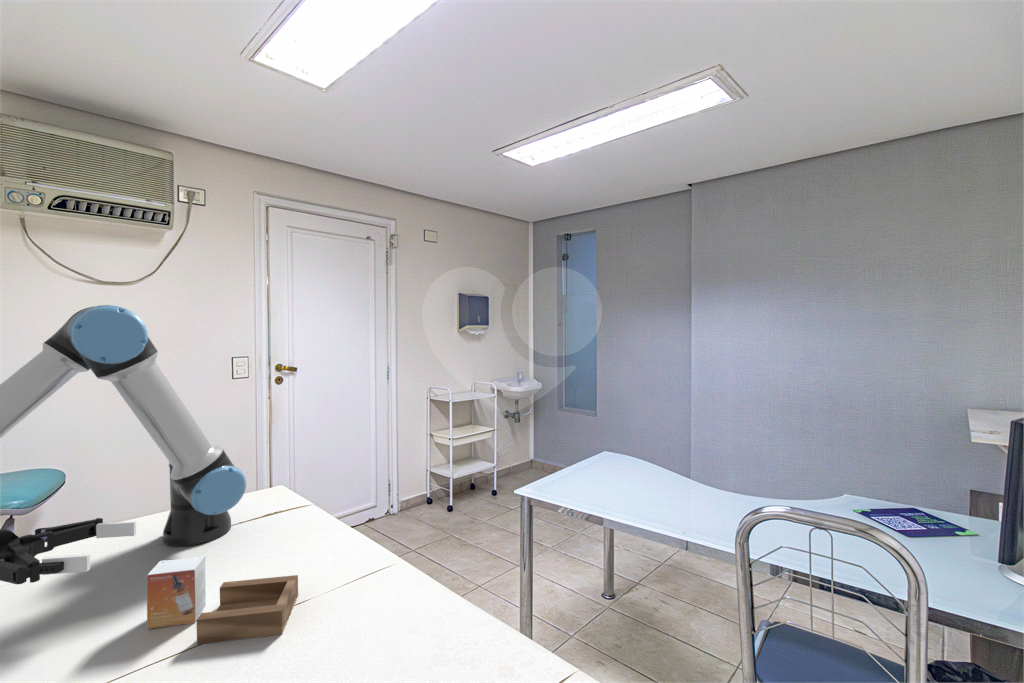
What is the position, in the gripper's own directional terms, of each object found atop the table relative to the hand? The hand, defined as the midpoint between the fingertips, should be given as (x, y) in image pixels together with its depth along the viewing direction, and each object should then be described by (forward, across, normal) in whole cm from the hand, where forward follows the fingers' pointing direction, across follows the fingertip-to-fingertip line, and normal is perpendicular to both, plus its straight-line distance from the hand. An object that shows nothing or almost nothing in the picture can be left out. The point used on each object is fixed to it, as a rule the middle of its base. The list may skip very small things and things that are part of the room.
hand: (113, 544), depth 87 cm
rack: (+24, +2, -15) cm, 29 cm away
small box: (+10, 0, -16) cm, 19 cm away
